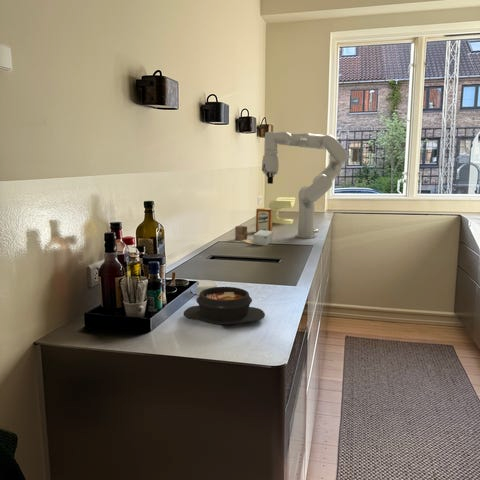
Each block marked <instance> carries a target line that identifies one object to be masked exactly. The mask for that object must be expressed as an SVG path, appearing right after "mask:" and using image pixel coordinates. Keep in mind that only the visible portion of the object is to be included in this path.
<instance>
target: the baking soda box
mask: <svg viewBox="0 0 480 480" xmlns="http://www.w3.org/2000/svg"><path fill="white" fill-rule="evenodd" d="M255 217H256V218H255V221H256V222H255V233H257V232H258V231H260V230H266V231H273V222H272V218H273V209H270V208H269V207H267V208H266V207H258V208H256V211H255Z"/></svg>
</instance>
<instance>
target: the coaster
mask: <svg viewBox="0 0 480 480" xmlns="http://www.w3.org/2000/svg"><path fill="white" fill-rule="evenodd" d="M196 281H198V282H199V285H198V286H197V295H196V296H199V294H200V292H201V291H203V290H205V289H208V288H213V287H218V283H217V282H216V281H213V280H209V279H198V280H196Z"/></svg>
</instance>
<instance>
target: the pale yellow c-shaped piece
mask: <svg viewBox="0 0 480 480" xmlns="http://www.w3.org/2000/svg"><path fill="white" fill-rule="evenodd" d="M295 203H296V197H285V196H283V197H282V196H280V197H277V198H275V200H271V201H270V202H269V203H268V208H270V209H273V218H272V224H273V223H274V224H283V225H285V224H286V225H292V224H293V223H294V218H293V219H292V218H284V217H280V216H279V211H280V209H286V208H290V209H293V207H294V206H295Z"/></svg>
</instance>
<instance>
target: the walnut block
mask: <svg viewBox="0 0 480 480" xmlns="http://www.w3.org/2000/svg"><path fill="white" fill-rule="evenodd" d="M234 229H235V230H234V232H235V233H234V234H235V235H234V239H235V240H236V241H239V240H247V239H248V226H245V225H237V226H235V227H234Z"/></svg>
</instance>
